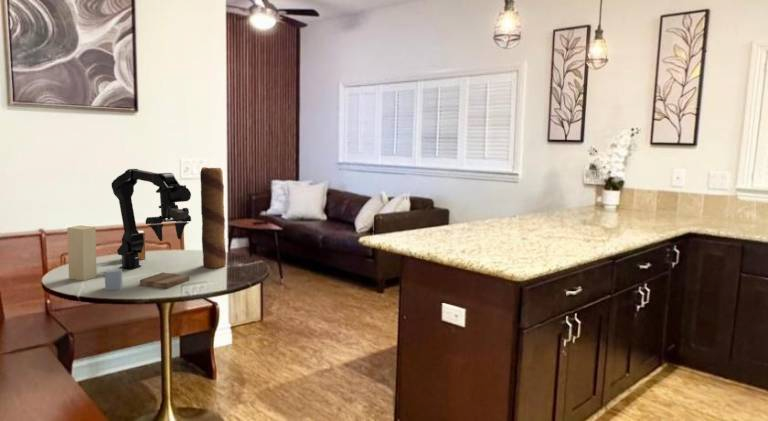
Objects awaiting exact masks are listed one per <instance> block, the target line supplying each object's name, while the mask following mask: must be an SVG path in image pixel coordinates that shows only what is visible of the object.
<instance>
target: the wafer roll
mask: <svg viewBox="0 0 768 421" xmlns="http://www.w3.org/2000/svg"><path fill="white" fill-rule="evenodd" d="M223 175H224V174H223V170H222V168H221V167H201V169H200V175H199V176H200V201H201V202H200V210H201V213H200V214H201V222H202V224H201V225H202V226H201V245H202V246H201V248H202V249H201V250H202V264H203V267H204V268H207V269H221V268H223V267H225V266H226V265H227V252H226V241H225V240H226V238H225V228H226V227H225V225H226V224H225V223H226V222H225V221H226V218H225V206H224V205H225V203H224V195H225V193H224V192H225V191H224V188H225V186H224V178H223Z"/></svg>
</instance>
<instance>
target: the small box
mask: <svg viewBox="0 0 768 421" xmlns="http://www.w3.org/2000/svg"><path fill="white" fill-rule="evenodd" d="M137 231H138V232H139V233H142V234H143V239H144V246H143V248H142V252H141V253H138V257H139V261H142V260H146V232H145V231H144V230H142V229H141V230H137Z"/></svg>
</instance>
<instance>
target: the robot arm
mask: <svg viewBox="0 0 768 421" xmlns="http://www.w3.org/2000/svg"><path fill="white" fill-rule="evenodd" d="M138 180H139V181H144V182H147V183H152V185H154V186H156V187H158V188H157V189H156V190H155V193H156V194H158V193H159V199H160V205H158V209H160V215H159V216H149V217H148V216H147V217H146V219H145V224H146V225H148V227H150V228H151V229H152V231H153V232H154V234H155V235H156V237H157V239H158V240H159V242H163V227H164V223H167V222H171V223H172V222H175V223H174V227H175V231H176V237H177V239H178V240H181V239H182V236H183V232H184V229H185V226H186V225H188V224H189V223H190V222H192V217H191V215H190V210H189V208H188V207H182V208H179V206H178V204H176V203H184V202H185V203H186V202H189V201H190V200H191V197H192V193H191V191H190V189H189V188H187V185H186V184H182V185H181V184H180V183H179V181H178V179H177V178H176V177H175V175H174V173H173V172H153V171H152V172H151V171H147V170H143V169H139V168H128V169H126V170H125V172H123V173H122V174H120V175H119V176H117V177H116V178H115V179H113V181H111V190H112V194H113V195H114V196H115V197H116V198H117V199H118V202H119V209H120V214H121V219H122V220H121V221H122V225H123V226H122V227H123V234H122V237H121V245H120V246H119V248H118V249H117V255H118V256H121V266H119V267H118V269H127V270H133V269H136V268H140V267H142V265H141V264H140V260H139V257H138V253H141V252H142V248H143V246H144V239H143V234H142V233H139V232H138V231H139V230H138V228H137V225H136V223H137V222H136V218H135V212H134V206H133V200H132V197H133V195H134V192H135V190H134V189H135V188H134V187H135V186H136V184H137V183H138Z"/></svg>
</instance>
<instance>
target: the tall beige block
mask: <svg viewBox="0 0 768 421" xmlns="http://www.w3.org/2000/svg"><path fill="white" fill-rule="evenodd" d="M66 231H67V233H66V234H67V256H68V257H67V258H68V261H67V262H68V278H69V279H70V280H77V281H82V282H83V281H88V280H91V279H95V278H97V277H98V273H97V272H98V271H97V267H98V266H97V240H96V238H97V236H96V234H97V232H96V227H95V226H91V225H89V226H88V225H74V226H70V227H67V230H66Z"/></svg>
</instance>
